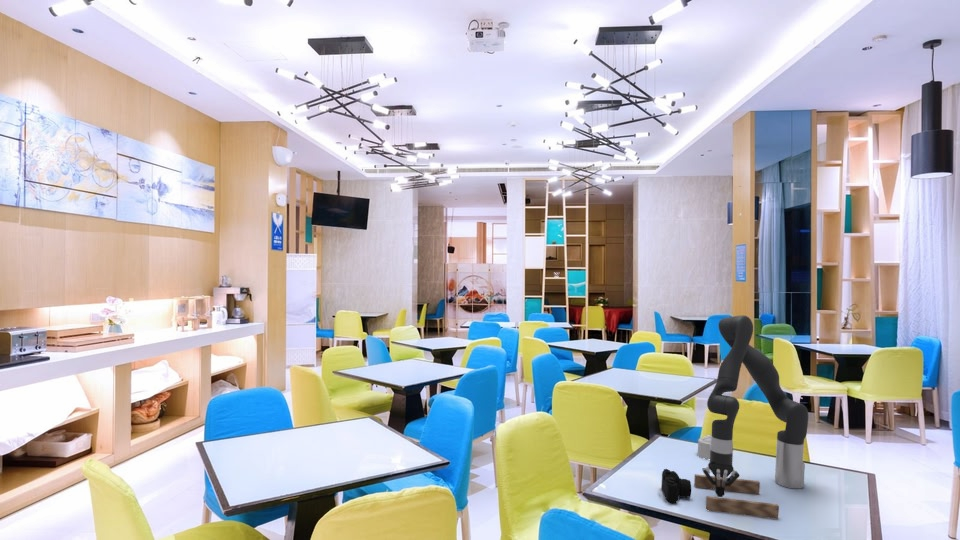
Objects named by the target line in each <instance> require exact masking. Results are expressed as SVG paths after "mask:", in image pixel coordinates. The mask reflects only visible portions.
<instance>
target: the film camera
mask: <svg viewBox="0 0 960 540" xmlns="http://www.w3.org/2000/svg"><path fill="white" fill-rule="evenodd" d="M661 472H662V473H661V490H662V493H663V496H664V498H665V500H666V502H667V503H668V504H670V505H676V504H677V502H678V501H679V497H684V498H688V497H691V496H692V482H691V481H690V480H689V479H686V478H681V477H680V476H679V474H678V473H677V472H676V471H674V470H670V469H667V468H664V469H663V471H661Z"/></svg>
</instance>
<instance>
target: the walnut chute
mask: <svg viewBox="0 0 960 540" xmlns="http://www.w3.org/2000/svg"><path fill="white" fill-rule="evenodd" d="M710 476H711V477H712V479H713V480H715V476H714V475H710ZM728 478H729V477H727V478H726V480H727V479H728ZM693 481H694V484H693V486H694V488H699V489H709V490H715V486H716V485H713V484H712V483H711V482H710V481H709V479H708V478H707V477H706V475H705V474H698V473H697V474H694V480H693ZM760 485H761V483H760V481H759V480H751V479H744V478H743V479H742V478H737V479H736V480H735V481H734V482H733V483H732V484H731V485H730V486H726V487H725V491H726V492H733V493H742V494H744V493H745V494H752V495H760V489H761V488H760V487H761V486H760ZM705 499H706V501H705V509H707V510H709V512H715V513H716V512H717V513H724V514H733V515H742V516H749V517H758V518H766V519H776V520H779V513H780V511H779V509H780V505H779V504H778V503H771V502H761V501H752V500H744V499H735V498H727V497H718V496H710V495H706V498H705ZM707 510H706V511H707Z"/></svg>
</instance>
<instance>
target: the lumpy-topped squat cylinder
mask: <svg viewBox="0 0 960 540" xmlns="http://www.w3.org/2000/svg"><path fill="white" fill-rule="evenodd" d="M711 436H712V434H706V435H705V436H703V437H700V438H698V439H697V442H698V443H697V457H698V456H699V457H698V458H700V457H701V458H700V459H703V458H705V459H704V460H707V459H710V443H711Z"/></svg>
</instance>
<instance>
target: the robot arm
mask: <svg viewBox="0 0 960 540" xmlns="http://www.w3.org/2000/svg"><path fill="white" fill-rule="evenodd" d="M753 323H754V322H753V321H752V319H751V318H750V317H749V316H747V315H735V316H728V317H724V318H720V320H719V321H718V331H719V333H720V335H721V337H722V338H723V339H724V341H725V342H726V343H727V344H728V345H729V347H730V348H731V349H730V350H729V352H728V353H727V355H725V357H724V359H723V360H722V361H721V363H720V366H719V369H718V373H717V379H716V382H715V386H714V387H713V390H712V391H711V393H710V395H709V397H708V399H707V403H706V405H707V409H708V411H709V412H710V413H712V414H717V415H722V416H725V417H726V418H725V419H714V420H713V421H712V423H711V435H712V436H711V443H710V460H709V462H708V464H707V466H706V467H702V469H701V471H702V472H703V475H706V477H707V478H708V479H709V481H710V482H711V483H712V484H713V485H716V486H715V489H714V491H715V495H716V497H720V498H724V497H725V493H726V492H725V487H726V486H730V485H731V484H732V483H733V482H734V481H735V480H736V479H739V477H740V474H739V472H738V471H737V470H735V468H734V466H733V457H734V456H733V453H734V452H733V451H734V443H733V439H734V435H733V433H734V432H733V431H734V426H735V425H734V424H735V421H736V418H737V416H738V413H739V409H740V402H739V400H738V399H737V398H736V397H735V396H732V395H731V396H729V395H724V393H732V392H736V390H737V388H738V386H739V385H738V384H739V379H740V374H741V373H740V372H741V368H742V364H743V366H744V367H745V369H746V370H747V372H748V373H749V375H750V376H751V378H752V380H753V381H754V382H755V384H756V385H757V386H758V388H759V390H760V391H761V392H762V393H763V395H764V397H765V398H766V400H767V402H768V404H769V406H770V408H771V410H772V412H773V413H774V415H775V417H776V418H777V419H778V420H779V421H781V422H784V423H785V429H784V430H779V431H777V432H776V433H777V434H776V453H775V472H774V481H775V483H776V484H778V485H779V486H782V487H785V488H788V489H802V488H804V487H805V486H804V485H805V470H806V464H805V462H804V448H805V447H804V446H805V443H804V442H805V439H806V437H807V435H808V426H809V411H808V408H807V406H805V404H803V403H800V402H798V401H794V400H791V399H790V398H789V397H788V396H787V395H786V394H785V392H784V391H783V389H782V387H781V385H780V375H779V371H778V370H777V369H776V368H777V367H776V366H775V365H774V364H773V362H772V361H771V360H770V358H769V357H768V356H767V355H765V354H764V353H762V352H761V351H760V350H758V349H756V348H755V347H753V346H752V345H751V344H750V342H751V340H752V338H753V337H752V336H753V334H754V333H753V332H754V325H753ZM711 473H712V475H713V476H715V480H713V479H712V477H711V476H712V475H711ZM726 478H728V479H727V480H726ZM723 496H724V497H723Z"/></svg>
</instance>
